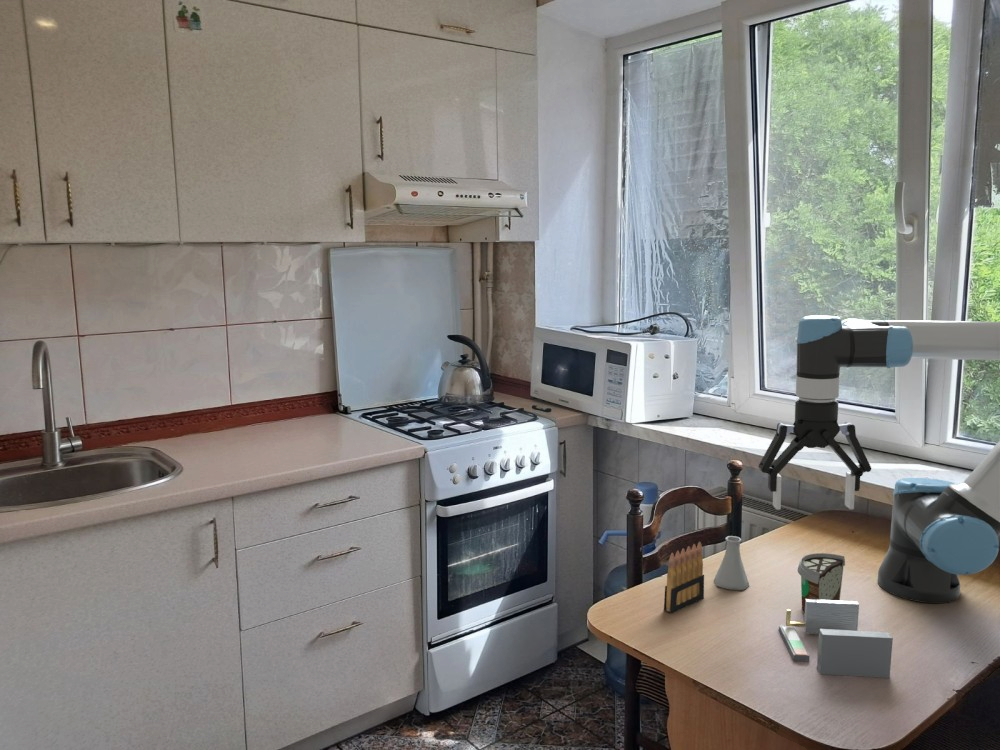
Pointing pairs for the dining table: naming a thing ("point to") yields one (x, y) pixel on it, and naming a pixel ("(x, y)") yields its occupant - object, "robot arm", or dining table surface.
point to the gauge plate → (827, 615)
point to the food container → (821, 576)
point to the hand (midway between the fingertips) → (812, 507)
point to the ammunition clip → (684, 579)
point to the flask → (732, 567)
